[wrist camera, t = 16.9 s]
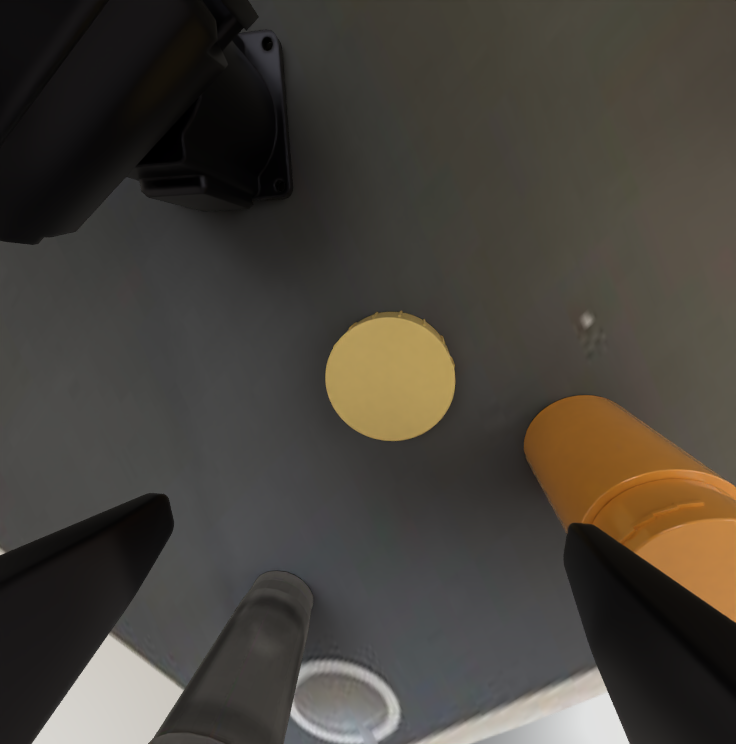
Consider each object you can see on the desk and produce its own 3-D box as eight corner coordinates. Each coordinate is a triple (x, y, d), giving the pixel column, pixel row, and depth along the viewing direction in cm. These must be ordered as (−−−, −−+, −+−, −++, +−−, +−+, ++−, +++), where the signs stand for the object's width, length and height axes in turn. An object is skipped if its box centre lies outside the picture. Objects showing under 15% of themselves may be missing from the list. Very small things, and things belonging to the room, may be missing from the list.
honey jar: (529, 393, 18) (623, 503, 10) (646, 395, 18) (857, 517, 9) (518, 485, 20) (592, 647, 12) (625, 491, 19) (789, 670, 11)
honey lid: (425, 439, 20) (426, 459, 18) (321, 400, 20) (310, 415, 18) (471, 335, 18) (478, 344, 16) (355, 293, 18) (346, 297, 16)
